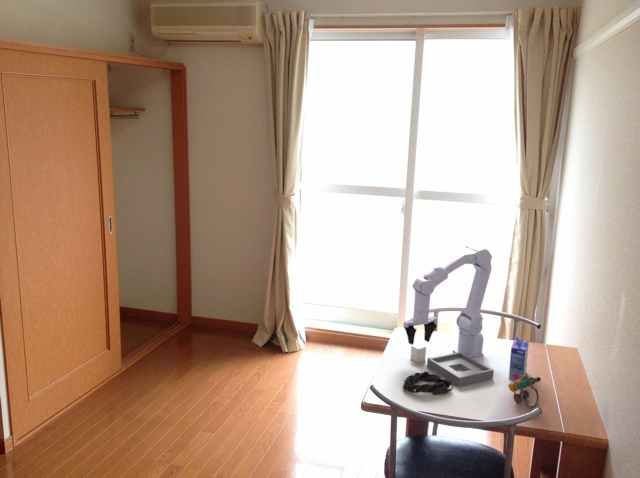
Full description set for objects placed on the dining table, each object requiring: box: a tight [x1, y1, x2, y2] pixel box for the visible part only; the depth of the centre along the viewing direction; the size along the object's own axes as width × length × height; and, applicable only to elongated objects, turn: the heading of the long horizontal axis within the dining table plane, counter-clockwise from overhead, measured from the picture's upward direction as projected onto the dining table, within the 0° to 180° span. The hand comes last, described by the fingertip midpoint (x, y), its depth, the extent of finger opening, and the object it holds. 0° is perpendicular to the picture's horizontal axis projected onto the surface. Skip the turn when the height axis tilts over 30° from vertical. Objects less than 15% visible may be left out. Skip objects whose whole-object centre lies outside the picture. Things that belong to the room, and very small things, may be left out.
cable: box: [402, 371, 454, 396], centre depth 199 cm, size 17×14×4 cm
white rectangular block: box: [410, 343, 427, 363], centre depth 222 cm, size 4×4×6 cm
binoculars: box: [508, 375, 542, 408], centre depth 189 cm, size 9×9×10 cm
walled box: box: [426, 352, 495, 388], centre depth 211 cm, size 16×18×4 cm
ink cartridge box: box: [508, 336, 530, 381], centre depth 210 cm, size 10×6×14 cm, turn 155°
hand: (418, 342), depth 221 cm, fingers open, 7 cm apart
